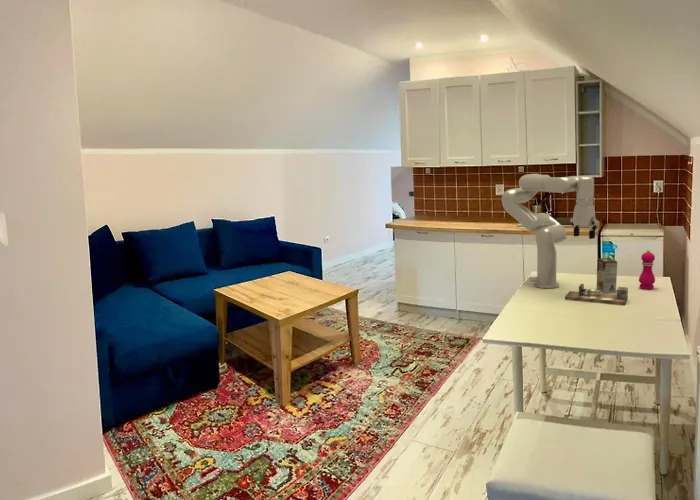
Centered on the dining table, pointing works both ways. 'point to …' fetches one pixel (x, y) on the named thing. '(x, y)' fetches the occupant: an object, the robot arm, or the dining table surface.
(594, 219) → the robot arm
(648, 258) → the pepper mill
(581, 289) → the grey rod with block
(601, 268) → the coffee box
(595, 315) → the dining table surface
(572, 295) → the base
